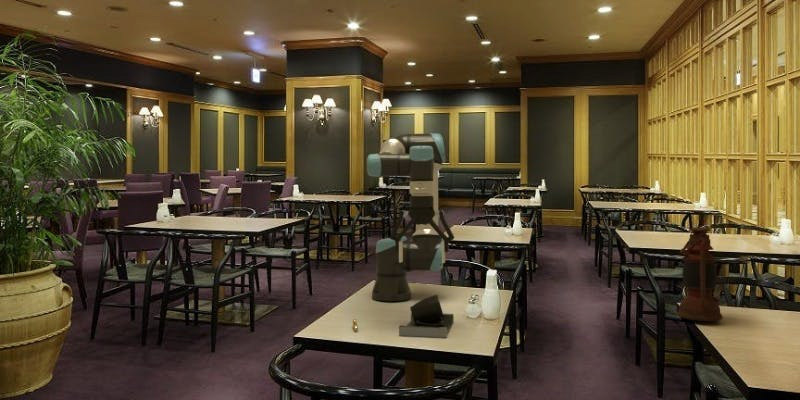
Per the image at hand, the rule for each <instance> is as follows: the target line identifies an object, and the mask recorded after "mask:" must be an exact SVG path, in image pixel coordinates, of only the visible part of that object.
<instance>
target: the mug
mask: <svg viewBox="0 0 800 400" xmlns="http://www.w3.org/2000/svg"><path fill="white" fill-rule="evenodd" d="M410 311H411V312H410V314H411V313H412V317H413V320H414V323H415V324H417V325H420V326H424V327H443V326H444V322H443V320H444V315H443V313H444V311H443V308H442V306H441V302H440V299H439V296H438V294H435V295H431V296H428V297H426V298H423V299H420V301H418V302H416V303H415V304H413V305H411V306H410ZM438 321H442V322H441V323H440V324H428V323H434V322H438Z"/></svg>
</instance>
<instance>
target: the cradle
mask: <svg viewBox="0 0 800 400" xmlns="http://www.w3.org/2000/svg"><path fill="white" fill-rule="evenodd" d="M443 315H444V320H443V322H444V326H443V327H424V326H420V325H417V324H415V323H414V320H413V317H412V313H411V312H410V321H409V322H408V323H407V324H406V325H399V326H398V336H399V337H411V338H412V337H414V338H417V337H418V338H434V339H435V338H436V339H447V337H448V335H449V333H450V331H451V329H452V327H453V325H454V323H455V322H454V321H455V320H454V319H455V318H454V317H455V316H454V315H455V314H454V313H444V312H443ZM441 322H442V321H438V322H434V323H428V324H440V323H441Z"/></svg>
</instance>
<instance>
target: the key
mask: <svg viewBox="0 0 800 400" xmlns="http://www.w3.org/2000/svg"><path fill="white" fill-rule="evenodd" d="M352 328H353V331H354V333H357V332H358V331H359V328H358V323H357V318H354V319H352Z"/></svg>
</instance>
